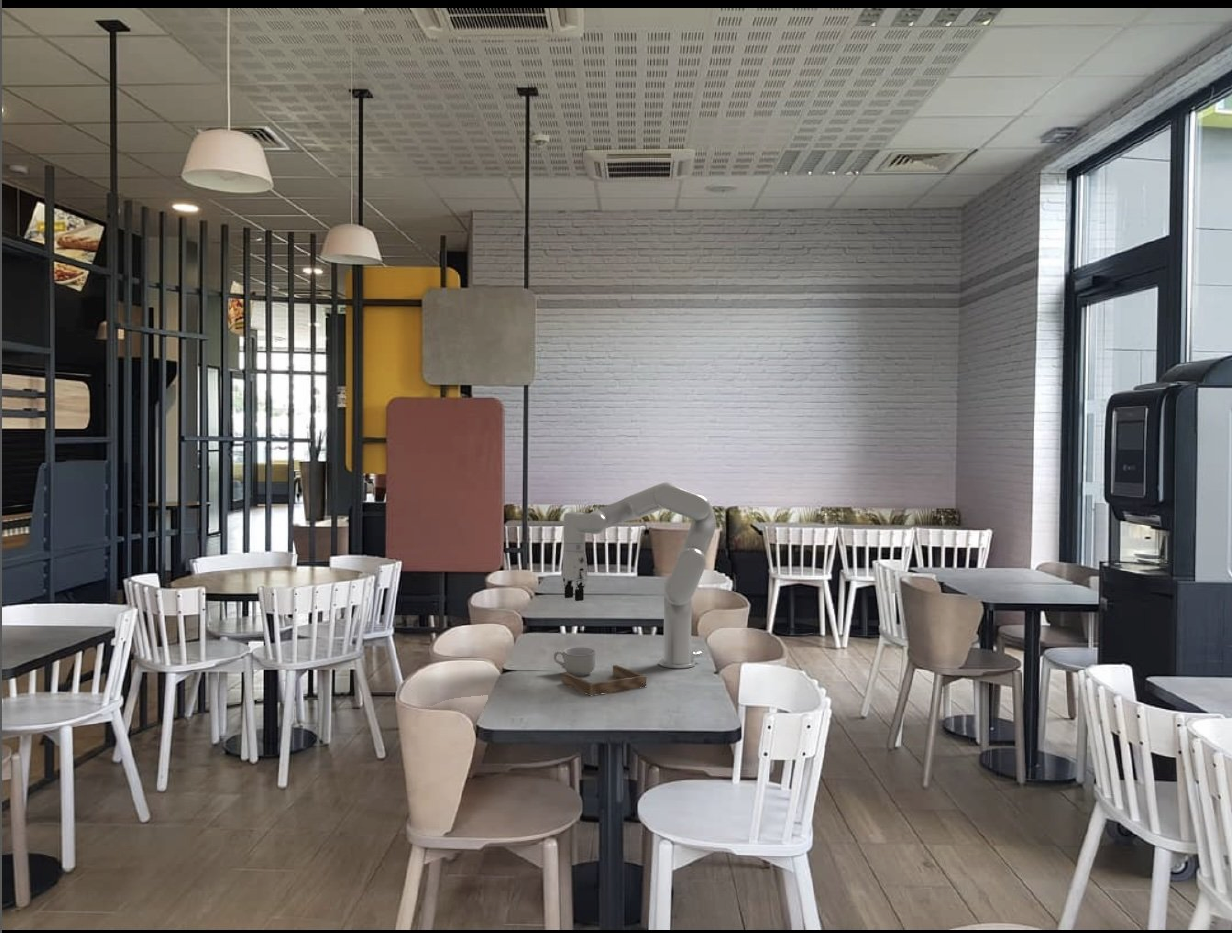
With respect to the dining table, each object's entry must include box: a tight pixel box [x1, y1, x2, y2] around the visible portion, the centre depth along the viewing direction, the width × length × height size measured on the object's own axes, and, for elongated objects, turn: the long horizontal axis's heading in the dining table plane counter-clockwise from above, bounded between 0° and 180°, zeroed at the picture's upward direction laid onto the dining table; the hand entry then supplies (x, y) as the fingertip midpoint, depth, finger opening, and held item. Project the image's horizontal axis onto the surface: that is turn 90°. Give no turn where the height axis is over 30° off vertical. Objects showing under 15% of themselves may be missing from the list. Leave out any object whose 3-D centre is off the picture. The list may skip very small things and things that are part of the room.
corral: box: [561, 664, 647, 696], centre depth 309 cm, size 20×18×4 cm
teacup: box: [553, 646, 597, 677], centre depth 324 cm, size 14×11×8 cm
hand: (573, 598), depth 338 cm, fingers open, 6 cm apart
